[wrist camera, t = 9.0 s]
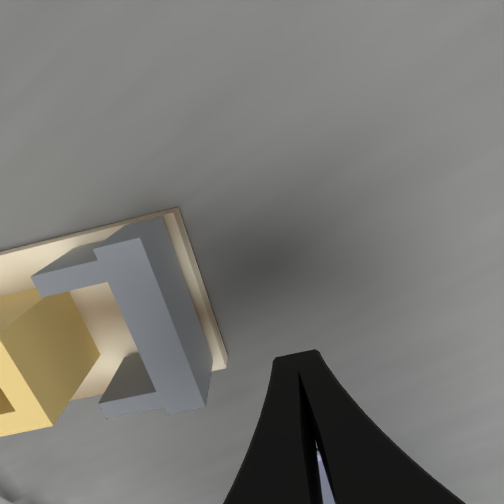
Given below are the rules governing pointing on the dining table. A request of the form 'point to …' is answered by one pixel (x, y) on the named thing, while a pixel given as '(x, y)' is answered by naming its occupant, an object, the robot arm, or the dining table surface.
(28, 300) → the block
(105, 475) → the dining table surface
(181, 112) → the dining table surface
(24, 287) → the base plate
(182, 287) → the housing
